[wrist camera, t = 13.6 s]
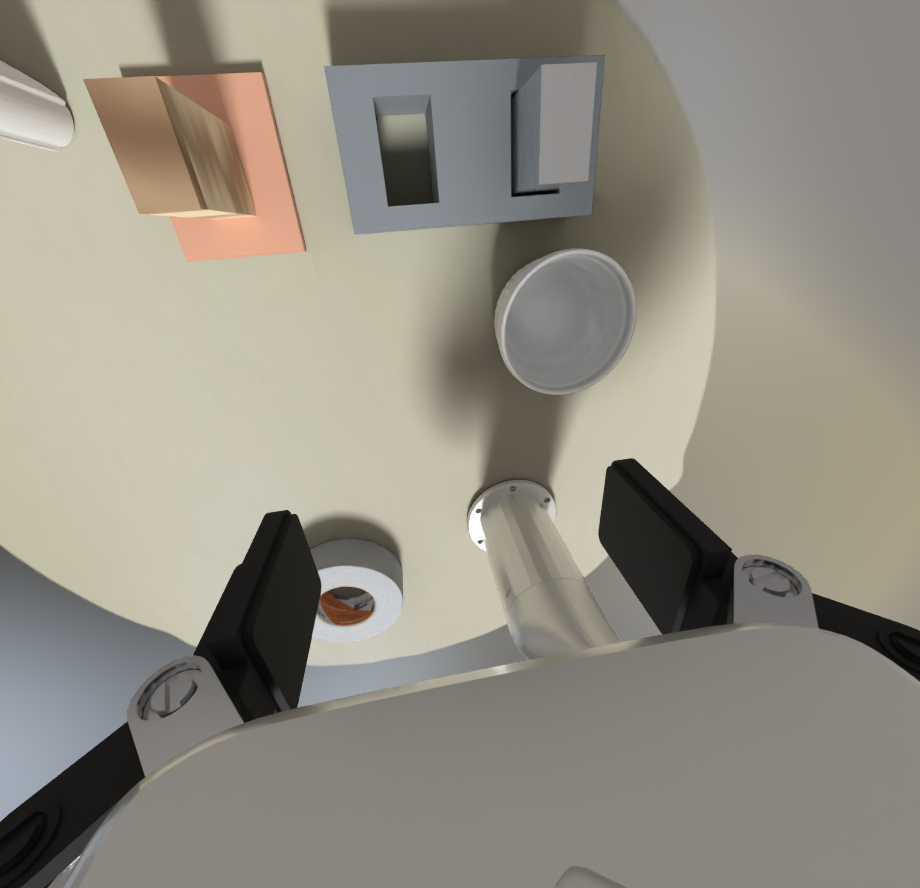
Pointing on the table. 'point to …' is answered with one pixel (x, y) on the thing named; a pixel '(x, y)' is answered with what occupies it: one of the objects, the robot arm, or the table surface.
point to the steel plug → (552, 128)
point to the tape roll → (362, 570)
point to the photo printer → (32, 112)
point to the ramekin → (565, 320)
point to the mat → (263, 165)
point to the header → (447, 141)
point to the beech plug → (171, 150)
